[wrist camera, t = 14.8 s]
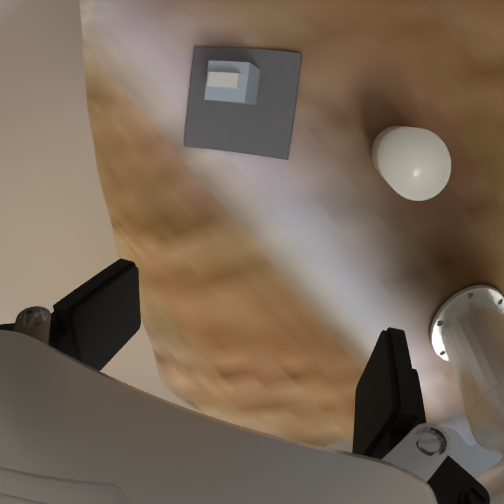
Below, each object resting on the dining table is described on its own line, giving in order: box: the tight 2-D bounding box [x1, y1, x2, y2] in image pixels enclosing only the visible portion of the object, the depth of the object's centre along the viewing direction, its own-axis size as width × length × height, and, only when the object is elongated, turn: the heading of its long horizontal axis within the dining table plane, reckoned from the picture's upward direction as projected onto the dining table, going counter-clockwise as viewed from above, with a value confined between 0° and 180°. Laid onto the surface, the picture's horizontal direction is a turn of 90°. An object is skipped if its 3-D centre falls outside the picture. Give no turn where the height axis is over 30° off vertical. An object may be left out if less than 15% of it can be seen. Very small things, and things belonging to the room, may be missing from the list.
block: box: [204, 61, 260, 105], centre depth 29 cm, size 4×4×6 cm
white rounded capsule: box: [371, 126, 451, 201], centre depth 28 cm, size 6×6×8 cm
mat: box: [184, 47, 302, 160], centre depth 33 cm, size 12×12×1 cm
